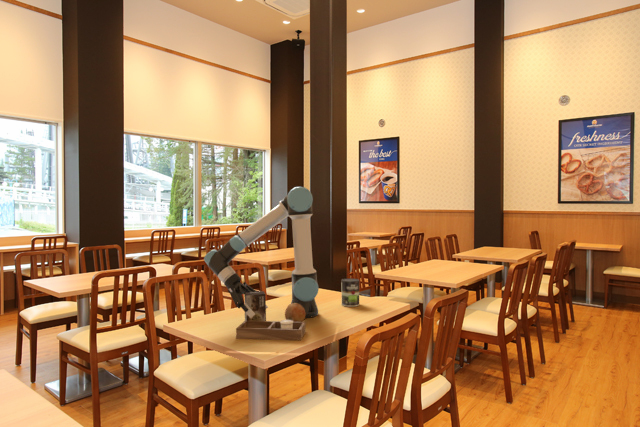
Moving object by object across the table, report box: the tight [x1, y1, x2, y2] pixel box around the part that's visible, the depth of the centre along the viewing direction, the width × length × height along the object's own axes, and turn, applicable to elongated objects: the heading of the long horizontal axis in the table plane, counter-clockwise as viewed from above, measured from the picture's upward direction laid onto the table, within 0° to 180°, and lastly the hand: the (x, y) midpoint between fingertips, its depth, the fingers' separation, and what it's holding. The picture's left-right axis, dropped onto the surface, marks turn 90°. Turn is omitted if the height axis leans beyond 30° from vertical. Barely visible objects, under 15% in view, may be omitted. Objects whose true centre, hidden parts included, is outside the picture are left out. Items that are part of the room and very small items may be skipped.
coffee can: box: [340, 278, 360, 308], centre depth 231 cm, size 10×10×14 cm
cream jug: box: [280, 319, 293, 329], centre depth 173 cm, size 6×6×6 cm
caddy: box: [235, 320, 306, 342], centre depth 173 cm, size 12×27×5 cm, turn 83°
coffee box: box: [243, 290, 267, 321], centre depth 187 cm, size 9×6×16 cm
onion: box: [284, 303, 306, 322], centre depth 193 cm, size 10×10×10 cm
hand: (259, 312), depth 186 cm, fingers open, 13 cm apart
